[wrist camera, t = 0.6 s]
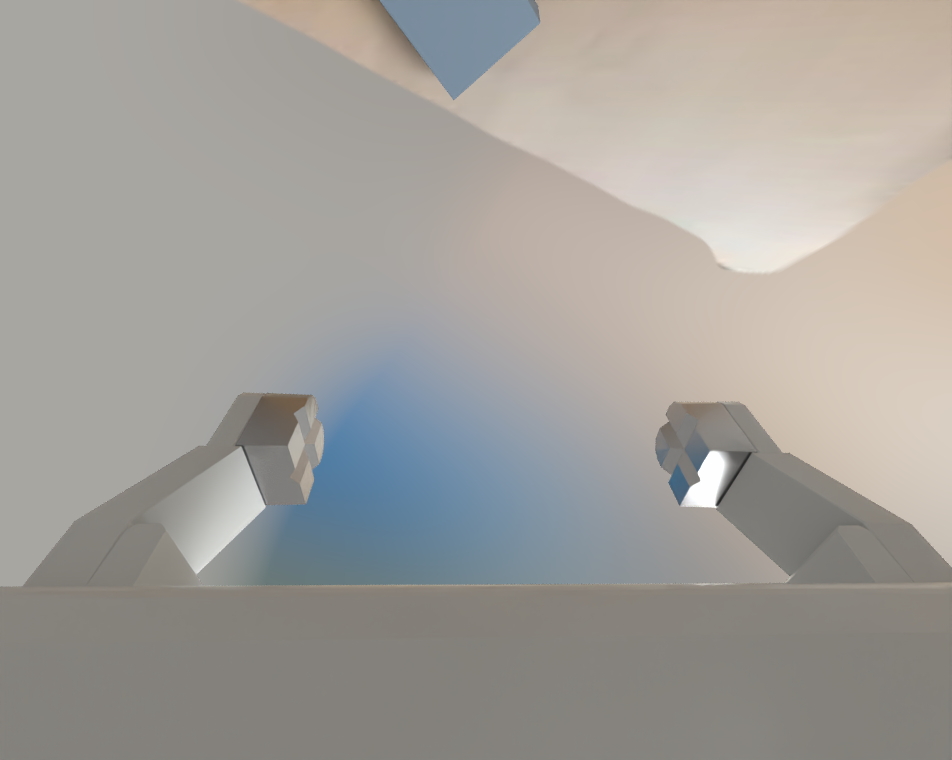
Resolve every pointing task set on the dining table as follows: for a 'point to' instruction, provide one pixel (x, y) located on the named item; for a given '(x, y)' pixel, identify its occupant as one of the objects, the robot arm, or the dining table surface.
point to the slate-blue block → (463, 34)
